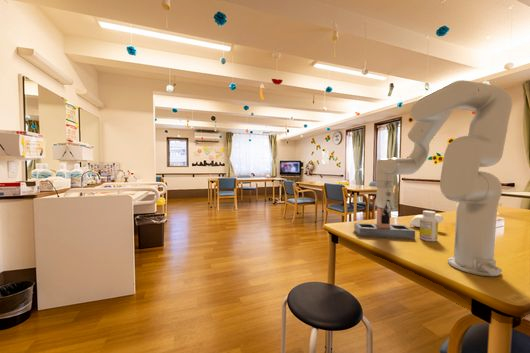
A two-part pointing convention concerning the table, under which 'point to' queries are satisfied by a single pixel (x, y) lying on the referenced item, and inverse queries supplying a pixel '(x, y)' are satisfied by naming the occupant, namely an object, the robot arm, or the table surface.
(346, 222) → the table surface
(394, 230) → the grey compartment tray
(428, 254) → the table surface
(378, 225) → the peg
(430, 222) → the supplement bottle
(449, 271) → the table surface
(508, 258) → the table surface
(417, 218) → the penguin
